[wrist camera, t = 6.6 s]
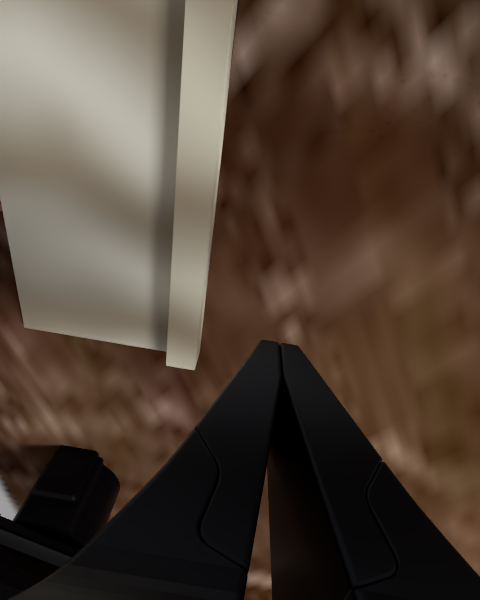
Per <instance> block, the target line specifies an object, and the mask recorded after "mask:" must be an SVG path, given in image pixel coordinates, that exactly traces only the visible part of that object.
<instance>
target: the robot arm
mask: <svg viewBox="0 0 480 600" xmlns="http://www.w3.org/2000/svg"><path fill="white" fill-rule="evenodd" d="M266 468H267V475H268V501H269V526H270V552H271V578H272V600H480V577H479V575H478V574H477V573H476V572H475V571H474V570H473V569H472V567H471V566H470V565H469V564H468V563H467V562H466V561H465V559H464V558H463V557H462V556H461V555H460V554H459V553H458V552H457V550H456V549H455V548H454V547H453V546H452V545H451V544H450V542H449V541H448V540H447V539H446V538H445V537H444V536H443V534H442V533H441V532H440V531H439V530H438V529H437V527H436V526H435V525H434V524H433V523H432V521H431V520H430V519H429V518H428V517H427V516H426V514H425V513H424V512H423V511H422V510H421V508H420V507H419V506H418V505H417V504H416V502H415V501H414V500H413V498H412V497H411V496H410V495H409V493H408V492H407V491H406V490H405V488H404V487H403V486H402V484H401V483H400V482H399V481H398V479H397V478H396V477H395V475H394V474H393V473H392V471H391V470H390V469H389V467H388V466H387V464H386V463H385V462H382V458H381V457H380V455H379V454H378V453H377V451H376V450H375V449H374V447H373V446H372V445H371V443H370V442H369V441H368V439H367V438H366V436H365V435H364V434H363V432H362V431H361V430H360V428H359V427H358V426H357V424H356V423H355V422H354V420H353V419H352V418H351V416H350V415H349V414H348V412H347V411H346V410H345V408H344V407H343V406H342V404H341V403H340V401H339V400H338V399H337V397H336V396H335V395H334V393H333V392H332V391H331V389H330V388H329V387H328V385H327V384H326V383H325V381H324V380H323V379H322V377H321V376H320V375H319V373H318V372H317V371H316V369H315V368H314V366H313V365H312V364H311V362H310V361H309V360H308V358H307V357H306V356H305V354H304V353H303V352H302V350H301V349H300V348H299V347H298V346H297V345H292V344H286V343H281V344H280V345H279V343H278V342H274V341H268V340H261V341H260V342H259V344H258V345H257V346H256V348H255V349H254V350H253V352H252V353H251V354H250V356H249V357H248V358H247V359H246V361H245V362H244V363H243V365H242V366H241V367H240V369H239V370H238V371H237V373H236V374H235V375H234V377H233V378H232V379H231V381H230V382H229V383H228V384H227V386H226V387H225V388H224V390H223V391H222V392H221V394H220V395H219V396H218V398H217V399H216V400H215V402H214V403H213V404H212V406H211V407H210V408H209V409H208V411H207V412H206V413H205V415H204V416H203V417H202V419H201V420H200V421H199V423H198V424H197V425H196V427H195V429H194V430H192V431H191V433H190V434H189V435H188V437H187V438H186V439H185V441H184V442H183V443H182V445H181V446H180V447H179V448H178V449H177V451H176V452H175V453H174V454H173V455H172V457H171V458H170V459H169V460H168V462H167V463H166V464H165V465H164V466H163V467H162V468H161V469H160V470H159V471H158V472H157V473H156V475H155V476H154V477H153V478H152V479H151V480H150V481H149V482H148V483H147V484H146V485H145V486H144V487H143V488H142V489H141V490H140V491H139V492H138V493H137V494H136V495H135V496H134V497H133V498H132V499H131V500H130V501H129V502H128V503H127V504H126V505H125V506H124V507H123V508H122V509H121V510H120V511H119V512H118V513H117V514H116V515H115V516H114V517H113V518H112V519H111V520H110V521H109V522H108V523H107V521H108V519H109V516H110V513H111V511H112V508H113V506H114V503H115V501H116V498H117V496H118V493H119V490H120V484H119V481H118V479H117V477H116V476H115V474H114V473H113V472H112V471H111V470H110V469H108V468H107V467H106V466H105V465H104V464H103V459H102V458H101V457H99V453H98V452H96V451H93V450H87V449H82V448H76V447H70V446H64V445H61V446H59V448H58V450H57V451H56V453H55V454H54V456H53V458H52V459H51V460H50V461H49V462H48V463H47V465H46V467H45V468H44V470H43V472H42V473H41V475H40V477H39V478H38V480H37V481H36V483H35V485H34V486H33V488H32V490H31V491H30V493H29V495H28V496H27V498H26V500H25V501H24V503H23V504H22V506H21V508H20V509H19V511H18V513H17V514H16V516H15V518H14V519H13V521H11V520H9V519H6V518H4V517H2V516H0V600H244V596H245V589H246V583H247V577H248V576H247V574H248V571H249V566H250V560H251V555H252V549H253V543H254V537H255V532H256V526H257V520H258V514H259V509H260V503H261V497H262V491H263V485H264V480H265V474H266ZM0 515H1V514H0Z"/></svg>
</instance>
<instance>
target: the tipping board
mask: <svg viewBox="0 0 480 600" xmlns="http://www.w3.org/2000/svg"><path fill="white" fill-rule="evenodd" d="M237 8H238V0H0V199H1V205H2V210H3V215H4V221H5V226H6V231H7V237H8V242H9V247H10V253H11V258H12V263H13V269H14V274H15V279H16V285H17V290H18V295H19V301H20V306H21V311H22V317H23V322H24V328H30V329H36V330H42V331H48V332H54V333H60V334H66V335H71V336H77V337H83V338H89V339H95V340H101V341H107V342H113V343H119V344H125V345H130V346H136V347H142V348H148V349H154V350H160V351H166V352H167V358H166V366H172V367H178V368H184V369H190V370H195V366H196V363H197V359H198V356H199V353H200V344H201V335H202V326H203V316H204V307H205V298H206V289H207V280H208V271H209V262H210V253H211V244H212V235H213V226H214V217H215V208H216V199H217V190H218V180H219V171H220V162H221V153H222V144H223V135H224V126H225V117H226V108H227V99H228V90H229V81H230V72H231V63H232V53H233V44H234V35H235V26H236V17H237Z"/></svg>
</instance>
